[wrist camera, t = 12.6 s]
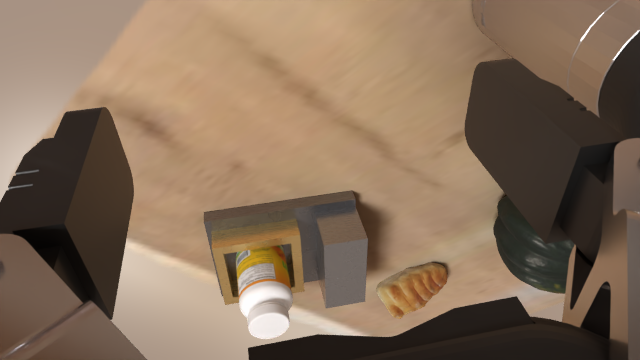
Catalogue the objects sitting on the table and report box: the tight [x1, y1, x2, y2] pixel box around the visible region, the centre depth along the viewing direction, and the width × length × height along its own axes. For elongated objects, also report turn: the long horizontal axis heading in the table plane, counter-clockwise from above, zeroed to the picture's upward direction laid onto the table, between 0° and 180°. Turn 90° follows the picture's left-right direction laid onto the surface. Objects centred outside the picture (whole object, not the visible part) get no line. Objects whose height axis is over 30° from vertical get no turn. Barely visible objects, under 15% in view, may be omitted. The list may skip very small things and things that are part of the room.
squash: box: [493, 196, 574, 294], centre depth 54 cm, size 14×15×15 cm
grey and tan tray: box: [204, 191, 368, 308], centre depth 52 cm, size 16×12×6 cm
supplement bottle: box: [236, 245, 293, 339], centre depth 50 cm, size 5×5×10 cm
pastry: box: [376, 262, 447, 319], centre depth 63 cm, size 9×7×4 cm
